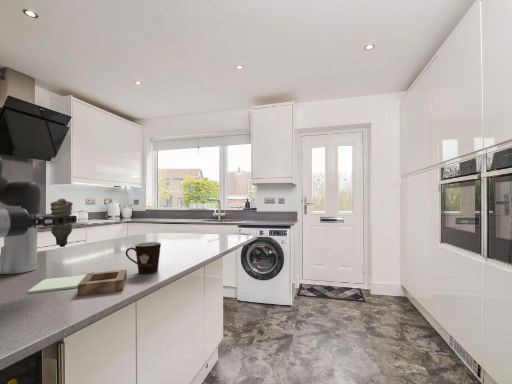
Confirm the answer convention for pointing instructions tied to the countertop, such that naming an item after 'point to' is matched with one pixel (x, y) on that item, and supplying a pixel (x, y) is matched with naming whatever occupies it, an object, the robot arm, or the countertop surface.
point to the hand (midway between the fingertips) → (70, 218)
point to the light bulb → (58, 231)
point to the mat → (57, 284)
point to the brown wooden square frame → (102, 282)
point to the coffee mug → (146, 257)
